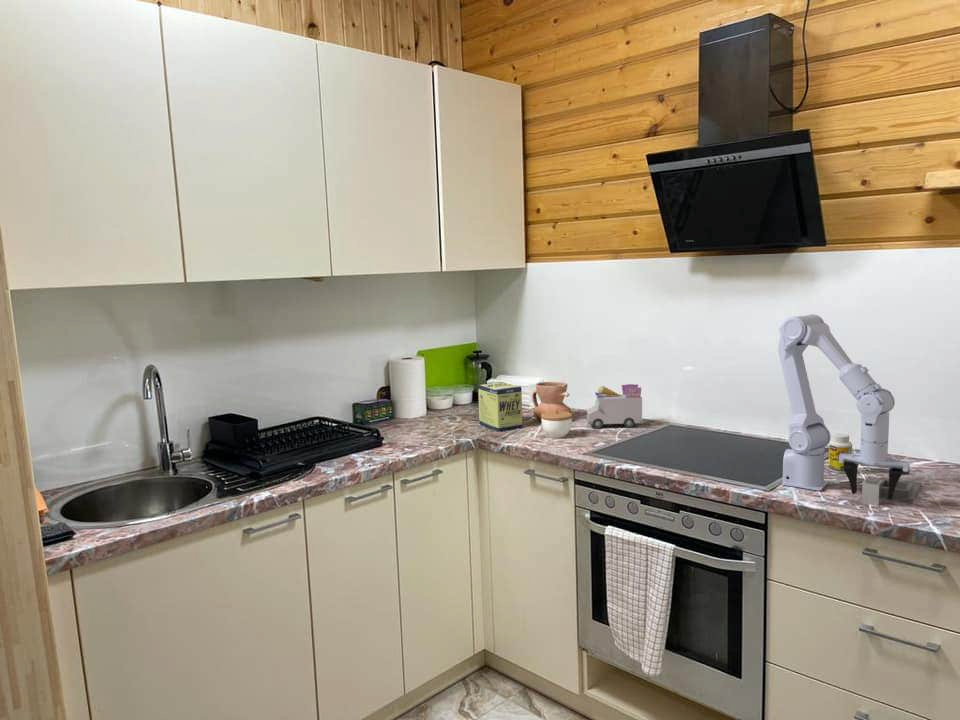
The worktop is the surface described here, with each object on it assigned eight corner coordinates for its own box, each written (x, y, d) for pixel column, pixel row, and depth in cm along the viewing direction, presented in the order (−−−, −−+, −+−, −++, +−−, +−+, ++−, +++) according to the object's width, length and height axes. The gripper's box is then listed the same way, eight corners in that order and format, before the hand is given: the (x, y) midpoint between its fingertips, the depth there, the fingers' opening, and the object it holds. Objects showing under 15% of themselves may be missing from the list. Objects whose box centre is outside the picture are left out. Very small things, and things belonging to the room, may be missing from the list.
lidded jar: (578, 437, 239) (578, 410, 238) (551, 441, 234) (551, 414, 233) (561, 431, 248) (561, 405, 247) (535, 435, 244) (535, 408, 243)
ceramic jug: (581, 419, 265) (580, 382, 264) (556, 425, 256) (555, 387, 254) (546, 414, 279) (545, 379, 277) (521, 420, 269) (520, 383, 268)
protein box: (498, 432, 250) (497, 389, 248) (478, 424, 264) (477, 384, 262) (523, 428, 255) (522, 386, 253) (502, 420, 268) (501, 381, 266)
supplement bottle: (824, 471, 192) (825, 434, 190) (834, 467, 195) (835, 431, 194) (845, 475, 187) (846, 438, 186) (855, 471, 190) (856, 434, 189)
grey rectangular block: (861, 502, 166) (862, 480, 166) (865, 497, 170) (866, 475, 169) (878, 505, 164) (879, 482, 163) (881, 500, 168) (882, 477, 167)
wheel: (887, 473, 175) (887, 466, 175) (890, 468, 178) (890, 461, 178) (907, 475, 172) (908, 468, 172) (910, 471, 176) (910, 464, 175)
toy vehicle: (585, 424, 258) (585, 384, 256) (638, 422, 257) (638, 382, 255) (588, 430, 249) (588, 388, 247) (643, 428, 248) (643, 387, 246)
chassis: (869, 496, 170) (870, 486, 170) (880, 480, 182) (881, 471, 181) (912, 503, 165) (913, 493, 164) (921, 486, 176) (921, 476, 176)
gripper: (836, 440, 166) (835, 494, 168) (907, 448, 157) (904, 505, 159) (843, 434, 172) (841, 487, 174) (911, 441, 163) (909, 497, 165)
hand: (872, 495), depth 167 cm, fingers open, 7 cm apart
